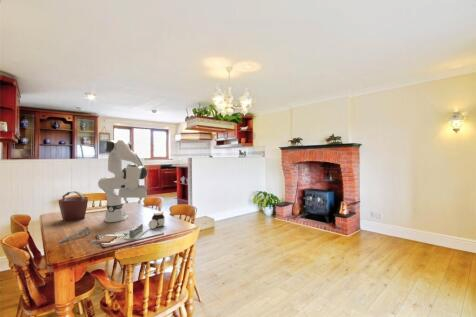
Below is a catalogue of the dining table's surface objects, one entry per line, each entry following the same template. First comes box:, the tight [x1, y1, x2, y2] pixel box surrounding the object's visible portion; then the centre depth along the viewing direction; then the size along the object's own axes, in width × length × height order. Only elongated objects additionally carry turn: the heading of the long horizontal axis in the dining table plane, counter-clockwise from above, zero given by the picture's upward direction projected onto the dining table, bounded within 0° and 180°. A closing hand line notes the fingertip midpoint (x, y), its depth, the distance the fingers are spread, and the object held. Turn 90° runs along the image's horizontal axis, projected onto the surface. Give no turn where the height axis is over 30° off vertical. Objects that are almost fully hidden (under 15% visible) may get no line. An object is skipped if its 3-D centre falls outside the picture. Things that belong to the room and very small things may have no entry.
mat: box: [89, 232, 129, 246], centre depth 166 cm, size 22×16×1 cm
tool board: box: [123, 228, 149, 241], centre depth 174 cm, size 20×9×1 cm, turn 0°
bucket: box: [58, 191, 89, 222], centre depth 218 cm, size 24×22×25 cm
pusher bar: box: [128, 223, 144, 238], centre depth 174 cm, size 16×3×5 cm, turn 0°
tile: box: [97, 235, 117, 243], centre depth 162 cm, size 2×8×10 cm
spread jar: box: [148, 211, 166, 230], centre depth 194 cm, size 12×11×12 cm
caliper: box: [57, 226, 91, 244], centre depth 167 cm, size 20×1×6 cm, turn 153°
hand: (133, 203), depth 180 cm, fingers open, 8 cm apart
